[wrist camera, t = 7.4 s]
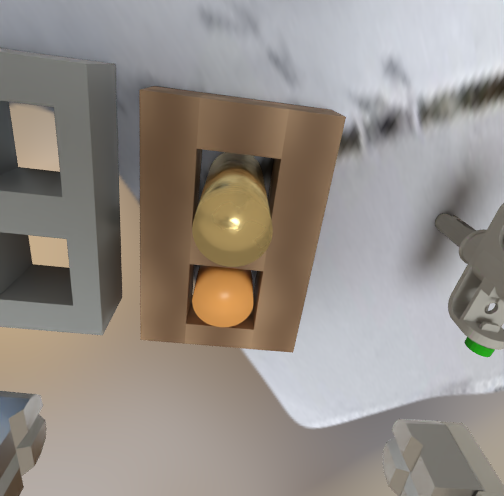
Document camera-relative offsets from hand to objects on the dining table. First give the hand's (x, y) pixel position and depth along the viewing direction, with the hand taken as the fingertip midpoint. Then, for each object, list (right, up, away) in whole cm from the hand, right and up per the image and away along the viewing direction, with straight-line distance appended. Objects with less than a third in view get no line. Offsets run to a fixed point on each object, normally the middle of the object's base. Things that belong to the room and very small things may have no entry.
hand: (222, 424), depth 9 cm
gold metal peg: (0, +9, +19) cm, 21 cm away
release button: (-2, +2, +21) cm, 22 cm away
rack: (-14, +8, +19) cm, 25 cm away
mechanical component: (+16, +6, +21) cm, 27 cm away
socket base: (-1, +6, +20) cm, 21 cm away
